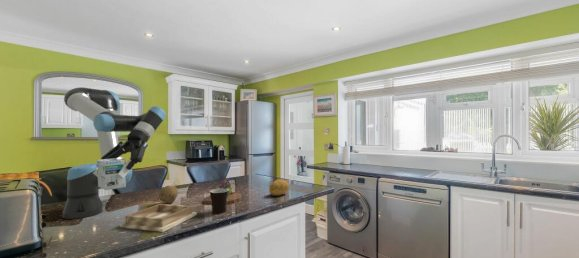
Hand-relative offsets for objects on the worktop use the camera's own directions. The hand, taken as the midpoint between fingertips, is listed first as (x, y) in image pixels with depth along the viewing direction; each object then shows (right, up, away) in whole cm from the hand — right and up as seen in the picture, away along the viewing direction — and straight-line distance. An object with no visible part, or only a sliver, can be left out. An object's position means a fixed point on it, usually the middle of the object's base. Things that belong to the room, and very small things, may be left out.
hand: (108, 175), depth 97 cm
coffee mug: (+36, -22, +27) cm, 50 cm away
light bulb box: (0, -5, +1) cm, 5 cm away
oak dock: (+13, -22, +13) cm, 29 cm away
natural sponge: (+4, -23, +40) cm, 46 cm away
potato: (+63, -22, +57) cm, 88 cm away
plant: (+32, -23, +47) cm, 62 cm away
